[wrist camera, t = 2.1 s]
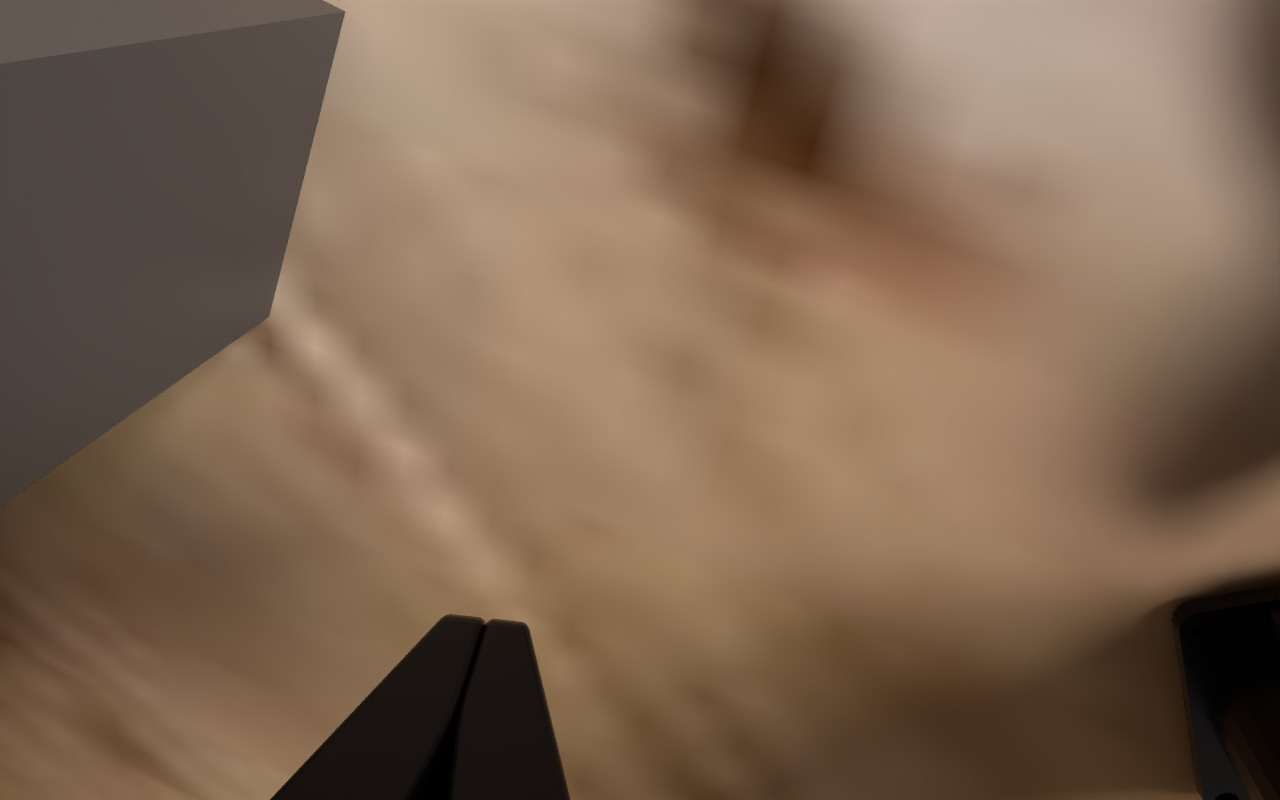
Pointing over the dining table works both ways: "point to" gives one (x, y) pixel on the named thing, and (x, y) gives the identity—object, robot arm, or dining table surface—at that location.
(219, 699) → the dining table surface
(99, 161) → the chute block
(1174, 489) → the dining table surface
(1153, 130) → the dining table surface
